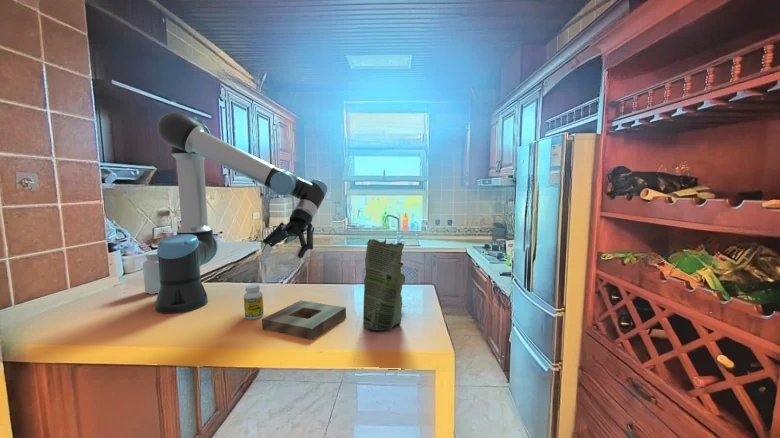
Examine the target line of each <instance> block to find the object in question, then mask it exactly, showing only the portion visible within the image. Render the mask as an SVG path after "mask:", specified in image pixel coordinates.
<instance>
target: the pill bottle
mask: <svg viewBox="0 0 780 438" xmlns="http://www.w3.org/2000/svg"><path fill="white" fill-rule="evenodd" d="M145 258H146V260H145V261H144V262H143V264H142V269H143V271H142V272H143V282H144V283H143V284H144V292H145V294H147V293H149V294H148V295H156V294H155V293H158V292H159V289H160V275H159V263H158V254H157V251H153V252H148V253H146V254H145Z"/></svg>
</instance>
